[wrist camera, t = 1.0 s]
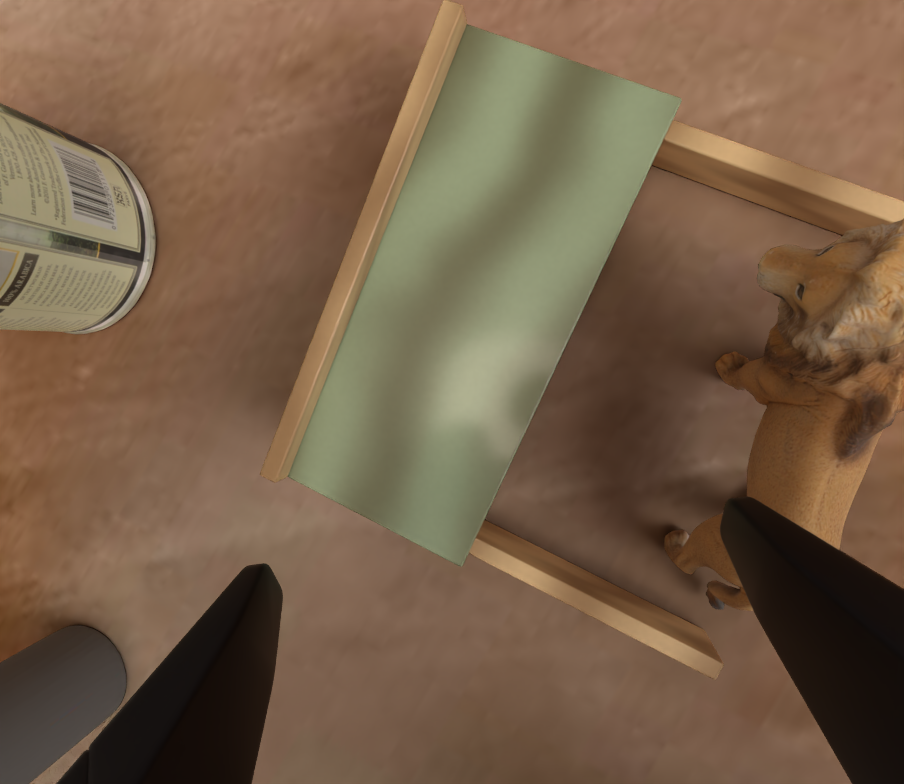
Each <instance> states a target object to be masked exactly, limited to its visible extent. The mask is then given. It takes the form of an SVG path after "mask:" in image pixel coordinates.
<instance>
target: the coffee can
mask: <svg viewBox="0 0 904 784" xmlns="http://www.w3.org/2000/svg"><path fill="white" fill-rule="evenodd" d="M155 244H156V234H155V228H154V222H153V216H152V211H151V208H150V205H149V202H148V199H147V196H146V194H145V192H144V190H143V188H142V186H141V184H140V183H139V181H138V180H137V178H136V177H135V175H134V174H133V173H132V171H131V170H130V169H129V167H128V166H127V165H126V164H125V163H124V162H123V161H121V160H120V159H119V158H117V157H116V156H115V155H114V154H112V153H111V152H109V151H107V150H106V149H104V148H101V147H99V146H97V145H94V144H91V143H87V142H85V141H83V140H81V139H78V138H76V137H74V136H72V135H70V134H67V133H65V132H63V131H61V130H59V129H57V128H54V127H52V126H50V125H48V124H45V123H43V122H41V121H38V120H36V119H34V118H32V117H30V116H28V115H25V114H23V113H21V112H19V111H17V110H15V109H12V108H10V107H8V106H6V105H3V104H1V103H0V329H5V330H33V331H58V332H65V333H71V334H86V333H91V332H96V331H100V330H102V329H105V328H107V327H109V326H111V325H113V324H114V323H116V322H117V321H119V320H120V319H121V318H122V317H124V316H125V315H126V314H127V313H128V312H129V311H130V309H131V308H132V307H134V305H135V304H136V303H137V301H138V299H139V297H140V296H141V294H142V292H143V290H144V289H145V287H146V284H147V282H148V280H149V278H150V275H151V271H152V266H153V263H154V256H155Z"/></svg>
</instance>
